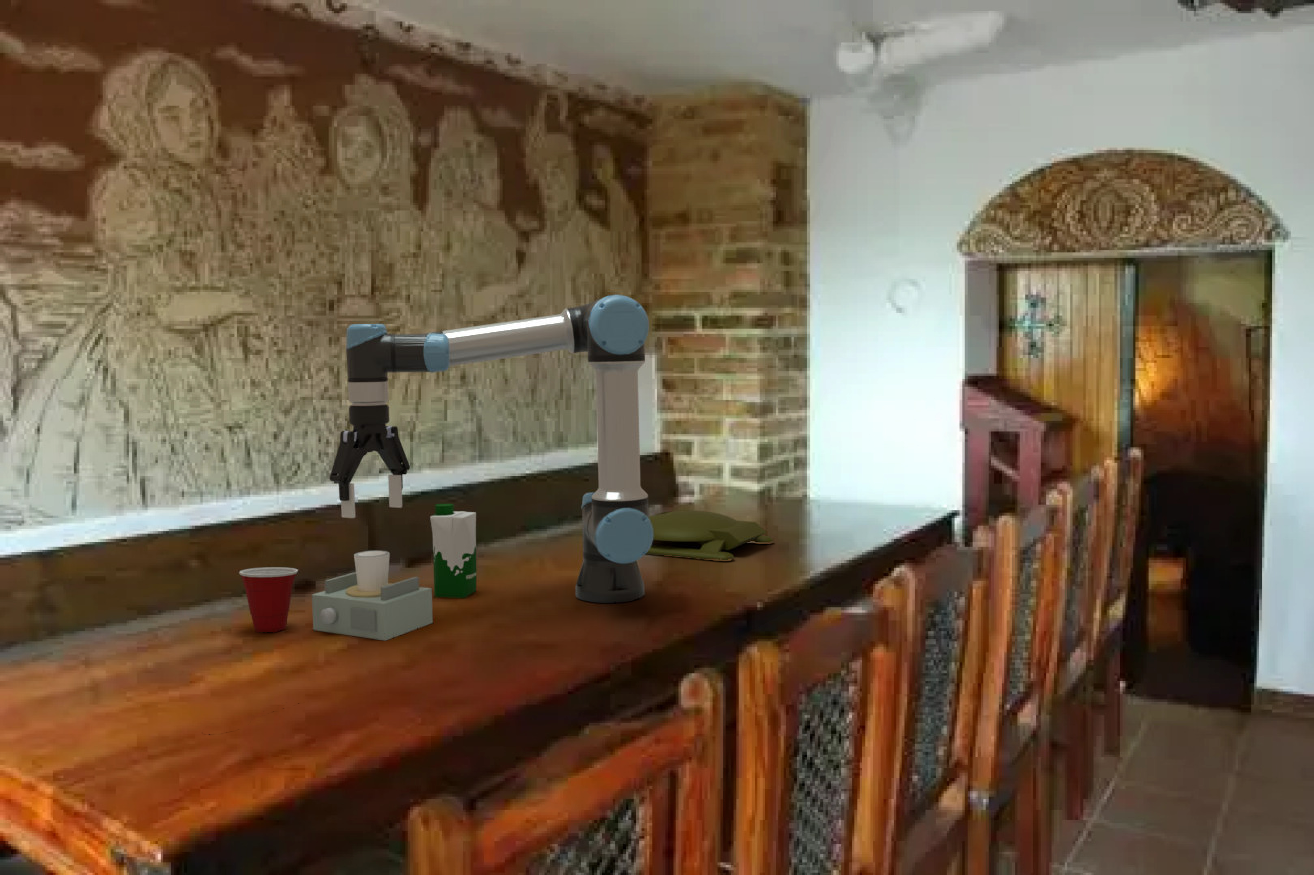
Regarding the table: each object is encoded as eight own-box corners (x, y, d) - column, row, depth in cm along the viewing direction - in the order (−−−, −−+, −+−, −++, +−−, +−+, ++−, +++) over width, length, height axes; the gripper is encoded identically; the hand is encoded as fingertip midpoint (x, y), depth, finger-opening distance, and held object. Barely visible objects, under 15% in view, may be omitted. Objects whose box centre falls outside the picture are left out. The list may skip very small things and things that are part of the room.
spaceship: (777, 544, 293) (777, 509, 292) (728, 565, 267) (728, 526, 266) (666, 534, 310) (665, 501, 310) (610, 553, 284) (609, 516, 283)
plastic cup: (312, 624, 212) (309, 564, 211) (276, 638, 202) (273, 576, 200) (267, 620, 215) (264, 561, 214) (229, 634, 205) (226, 572, 204)
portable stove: (432, 622, 212) (431, 575, 211) (379, 642, 198) (377, 592, 197) (363, 613, 220) (361, 568, 219) (307, 631, 206) (305, 583, 205)
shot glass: (351, 592, 205) (350, 557, 205) (358, 585, 212) (357, 550, 212) (387, 591, 206) (386, 556, 205) (393, 583, 213) (392, 549, 212)
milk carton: (444, 588, 242) (442, 501, 240) (482, 590, 240) (480, 502, 238) (428, 597, 233) (426, 507, 231) (467, 599, 231) (465, 508, 229)
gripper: (396, 400, 219) (399, 502, 221) (306, 407, 197) (311, 520, 199) (425, 400, 216) (428, 504, 218) (337, 408, 194) (342, 523, 195)
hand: (372, 512), depth 208 cm, fingers open, 13 cm apart
